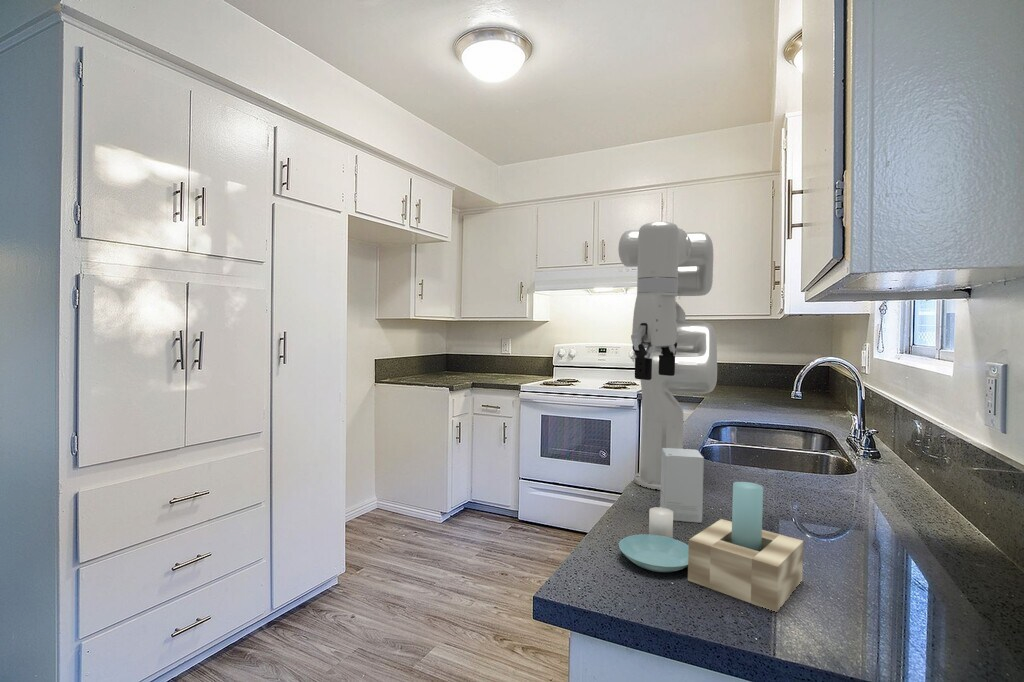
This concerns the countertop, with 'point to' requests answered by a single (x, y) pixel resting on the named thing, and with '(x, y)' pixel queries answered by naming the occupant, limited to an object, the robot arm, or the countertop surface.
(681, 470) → the supplement box
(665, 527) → the short off-white stub
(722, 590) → the birch hole block
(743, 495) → the teal dowel
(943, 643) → the countertop surface
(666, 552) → the saucer
